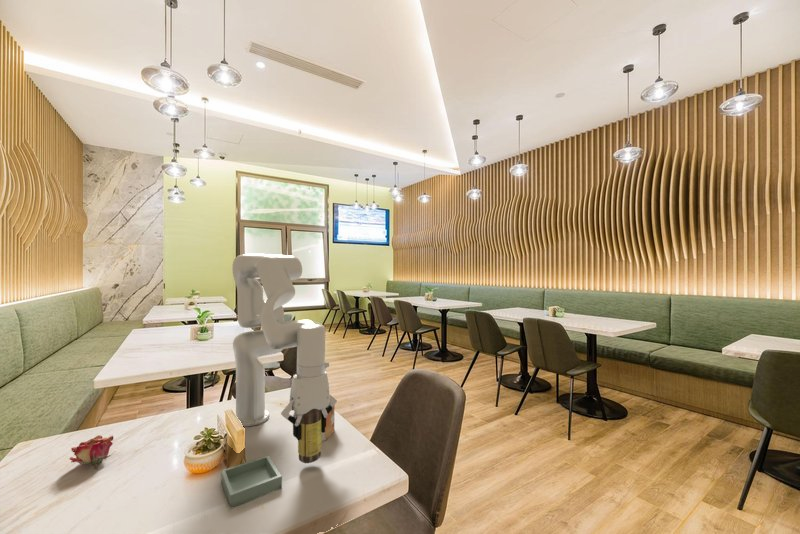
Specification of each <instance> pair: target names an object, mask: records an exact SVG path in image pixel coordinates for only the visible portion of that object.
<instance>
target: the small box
mask: <svg viewBox="0 0 800 534" xmlns="http://www.w3.org/2000/svg"><path fill="white" fill-rule="evenodd" d="M329 402H330V401H329ZM334 431H335V405H334V406H333V407H332V410H331V411H330V412H329V414H328V417H327V418H326V427H325V432H324V433H323V432H321V442H326V440H327V439H328V438H329V437H330V436H331V434H332V433H333V432H334Z"/></svg>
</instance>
